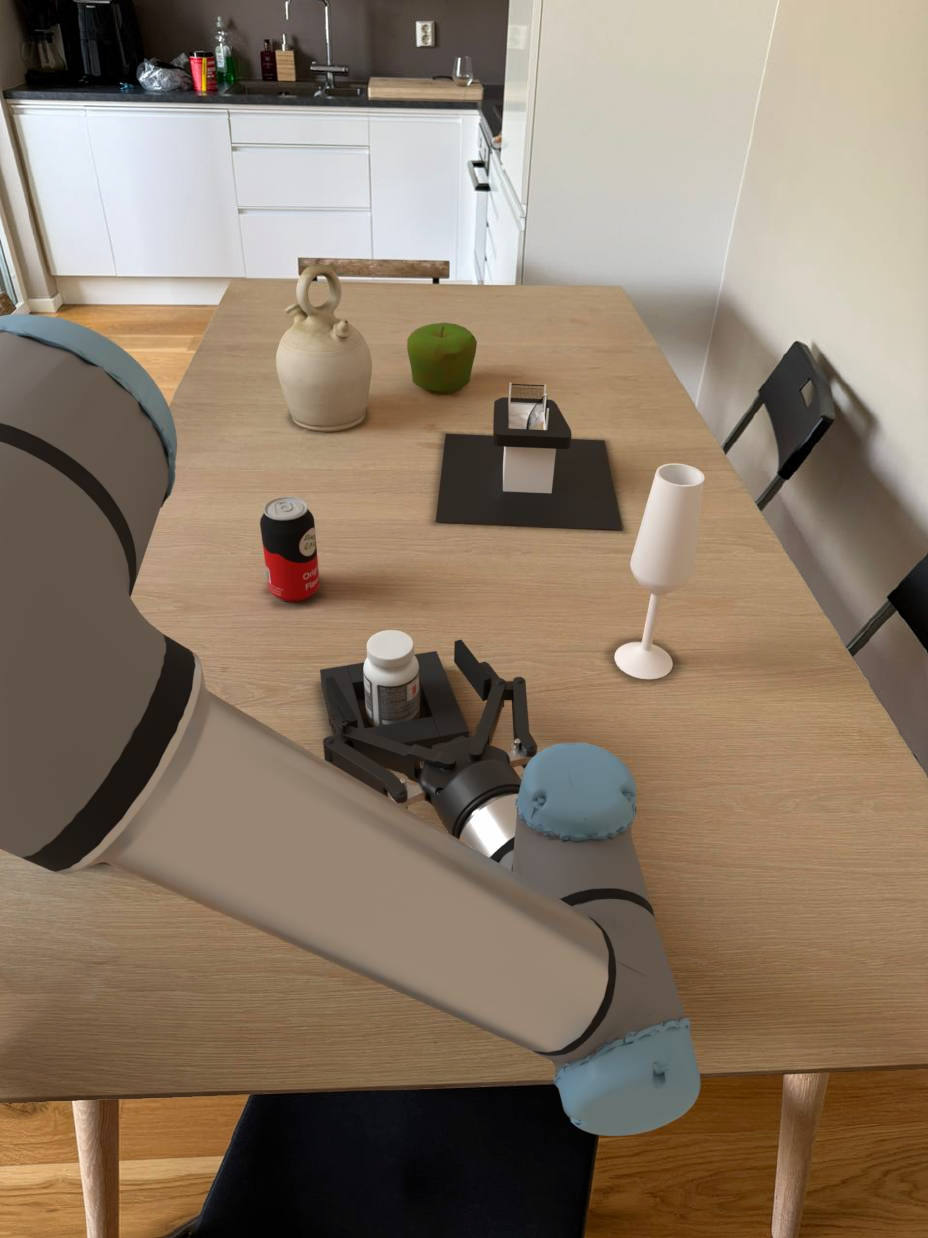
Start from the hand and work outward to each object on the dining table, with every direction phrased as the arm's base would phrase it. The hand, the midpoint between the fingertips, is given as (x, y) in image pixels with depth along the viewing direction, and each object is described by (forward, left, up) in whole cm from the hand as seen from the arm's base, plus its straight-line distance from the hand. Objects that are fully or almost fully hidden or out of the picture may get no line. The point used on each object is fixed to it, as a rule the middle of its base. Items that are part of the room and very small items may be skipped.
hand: (395, 668), depth 88 cm
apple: (+27, +84, -8) cm, 88 cm away
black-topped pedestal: (+31, +48, -8) cm, 57 cm away
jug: (+5, +76, -8) cm, 76 cm away
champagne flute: (+30, +4, -8) cm, 31 cm away
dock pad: (0, +2, -8) cm, 8 cm away
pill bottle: (0, +2, -8) cm, 8 cm away
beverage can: (-7, +27, -8) cm, 29 cm away
